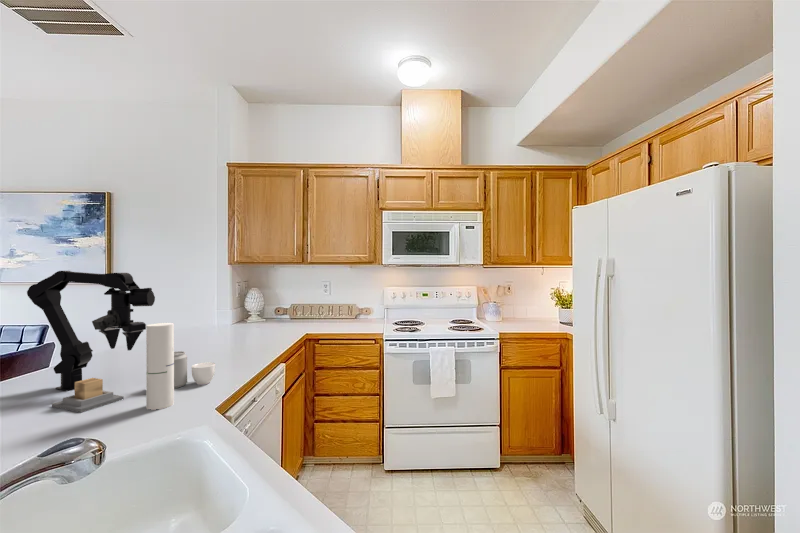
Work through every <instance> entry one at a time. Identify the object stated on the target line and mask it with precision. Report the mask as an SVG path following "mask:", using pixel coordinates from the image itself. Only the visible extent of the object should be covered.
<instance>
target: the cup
mask: <svg viewBox="0 0 800 533" xmlns="http://www.w3.org/2000/svg"><path fill="white" fill-rule="evenodd" d="M215 374H216V363H215V362H209V361H208V362H200V363H195V364H192V366H191V376H192V379H193V380H194V382H195V384H196V385H197V386H205V385H208V384H211V382H212V380H213V378H214V376H215Z"/></svg>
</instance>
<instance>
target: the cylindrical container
mask: <svg viewBox="0 0 800 533" xmlns="http://www.w3.org/2000/svg"><path fill="white" fill-rule="evenodd" d="M145 335H146V336H145V338H146V342H145V343H146V346H145V347H146V348H145V349H146V353H145V354H146V355H145V356H146V364H145V366H146V380H145V381H146V386H145V389H146V397H145V398H146V410H148V409H151V410H150V411H157V410H156V409H159V410H163V408H164V409H167V407H168V408H169V407H172V406H174V404H175V388H174V352H175V323H173V322H159V323H150V324H146V334H145Z"/></svg>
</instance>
